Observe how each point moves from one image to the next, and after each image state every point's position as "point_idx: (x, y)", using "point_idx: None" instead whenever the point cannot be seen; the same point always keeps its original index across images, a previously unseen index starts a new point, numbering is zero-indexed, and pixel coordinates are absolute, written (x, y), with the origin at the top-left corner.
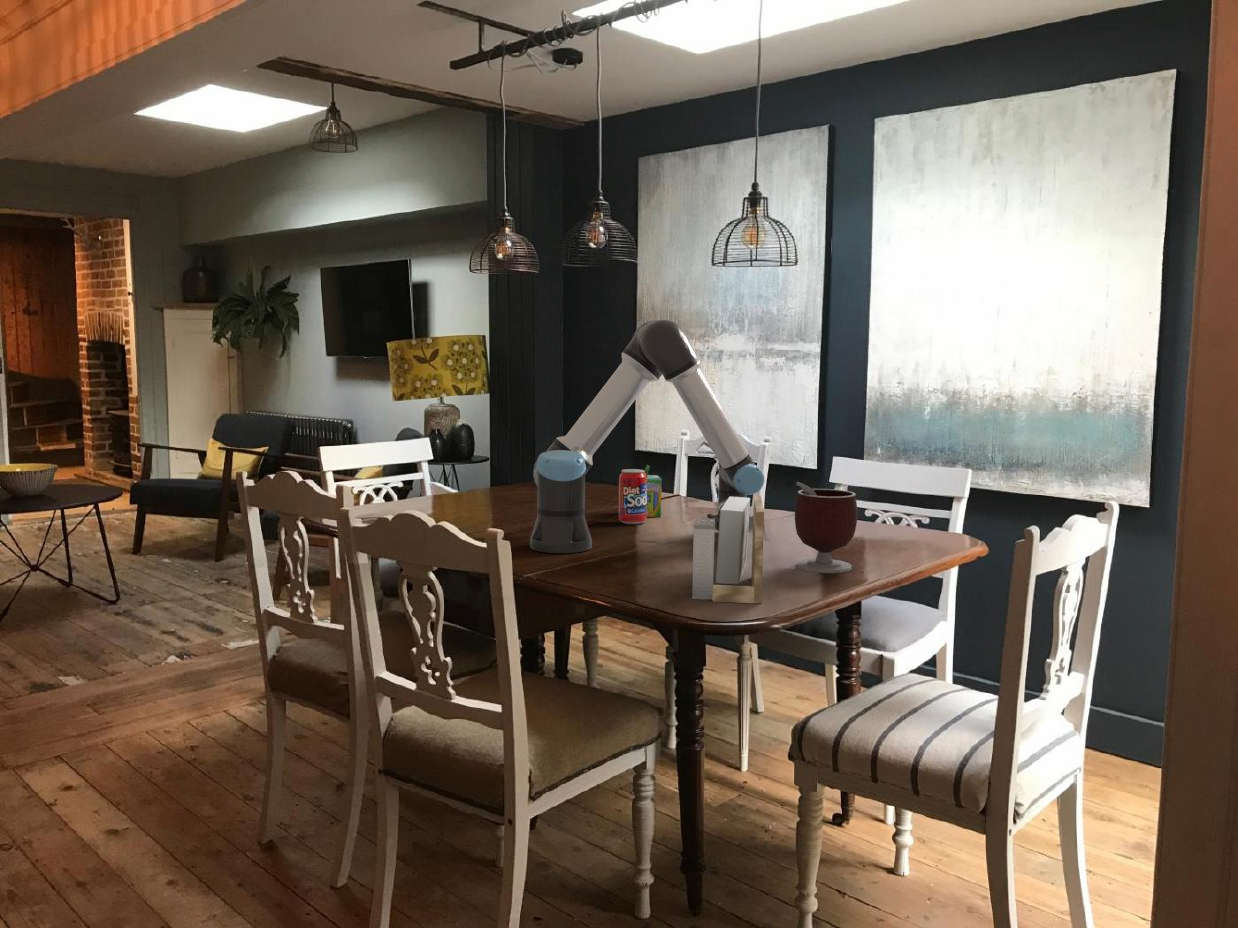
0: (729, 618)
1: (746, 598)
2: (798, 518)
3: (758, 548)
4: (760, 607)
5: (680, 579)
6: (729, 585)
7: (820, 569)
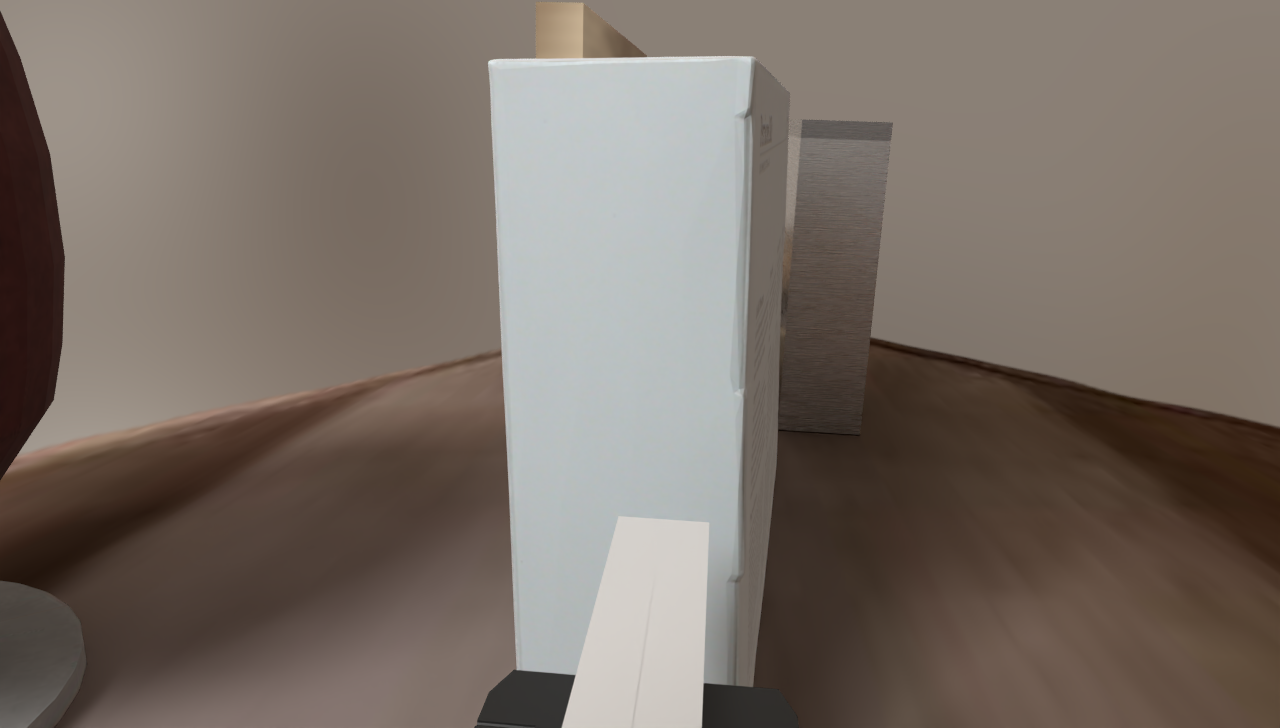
0: None
1: None
2: (52, 240)
3: None
4: None
5: (970, 512)
6: None
7: (16, 590)
